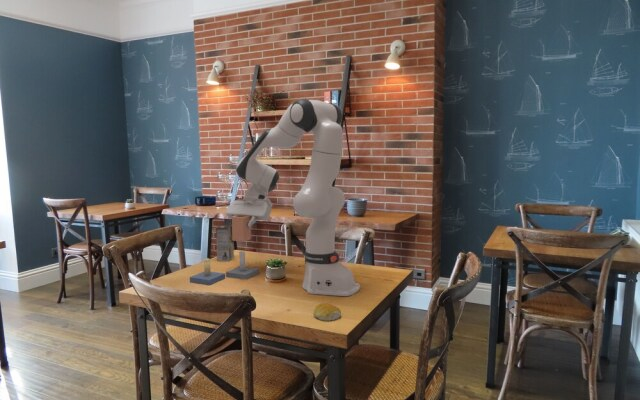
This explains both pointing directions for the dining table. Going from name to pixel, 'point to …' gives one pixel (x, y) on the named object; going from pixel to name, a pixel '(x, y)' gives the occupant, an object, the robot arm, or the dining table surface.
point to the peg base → (207, 275)
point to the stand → (242, 269)
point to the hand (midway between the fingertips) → (241, 226)
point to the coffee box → (224, 243)
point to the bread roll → (326, 312)
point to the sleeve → (241, 228)
